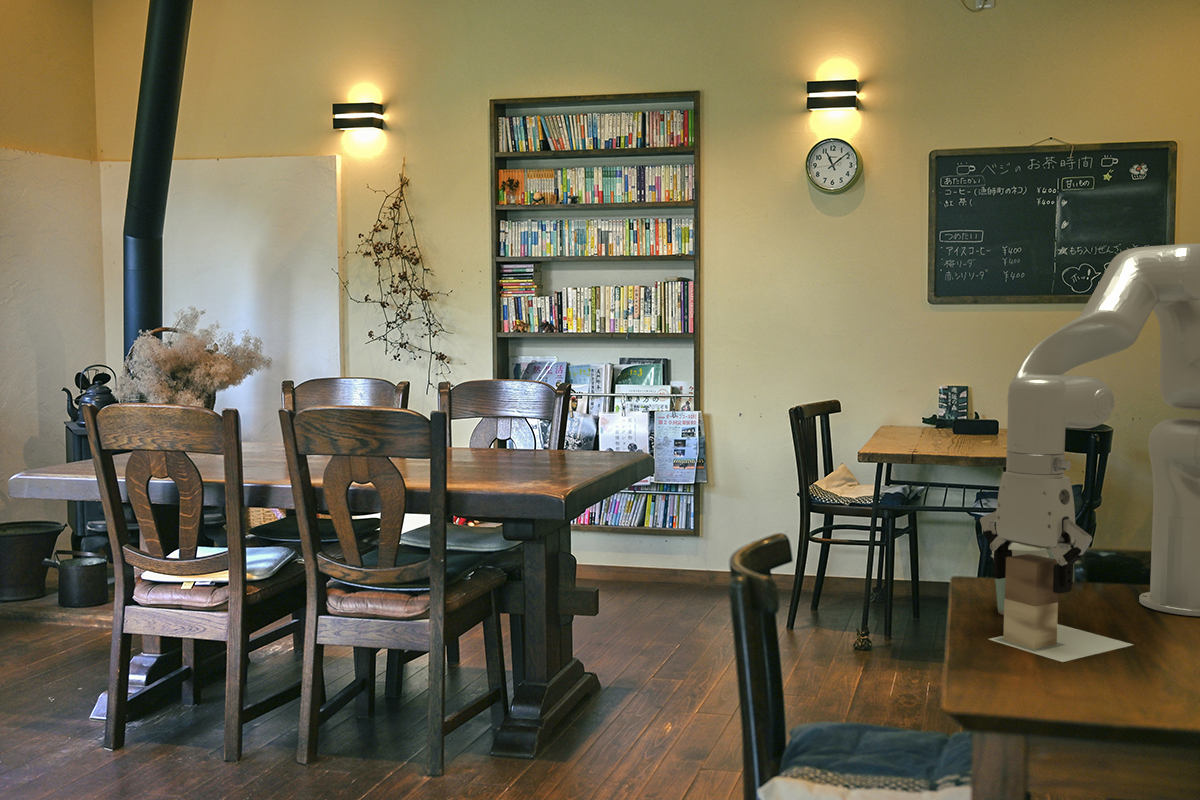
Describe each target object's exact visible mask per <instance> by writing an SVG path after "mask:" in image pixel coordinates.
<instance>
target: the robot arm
mask: <svg viewBox="0 0 1200 800" xmlns="http://www.w3.org/2000/svg"><path fill="white" fill-rule="evenodd" d="M1087 301H1088V302H1086V305H1085V307H1084V308H1083V310H1082V312H1081V313H1080V315H1079V316H1078V317H1076V318H1075V319H1073V320H1071V321H1070V322H1068V323H1066V324H1065V325H1063V326H1061V327H1060V328H1058V329H1057V330H1055V331H1054V332H1053V333H1051V334H1049V335H1048V336H1047V337H1045V338H1044V339H1042V340H1041V341H1040V342H1038V343H1037V344H1036V345H1035V346H1034V347H1032V349H1031V350H1030V351H1029V352H1028V353H1027V354H1026V356H1025V358H1024V359H1023V361H1022V363H1021V364H1020V365H1019V368H1018V369H1017V371H1016V373H1015V375H1014V377H1013V379H1012V381H1011V382H1010V383H1009V385H1008V394H1007V426H1006V429H1007V432H1006V433H1007V435H1006V466H1005V468H1006V469H1005V471H1003V472H1002V476H1001V479H1000V484H999V489H998V494H997V501H996V502H997V503H996V510H995V511H993V512H990V513H989V514H986V515H983V516H981V517H980V518H979V522H980V525H981V527H982V530H983V532H984V533H983V535H984V538H985V539H986V541H987V542H988V543H989V549H990V550H991V552H992V551H994V561H993V578H994V579H995V578H996V579H1002V578H1005V576H1006V557H1011V556H1012V550H1009V549H1008V548H1009V547H1010V546H1011V544H1012V543H1013V542H1015V543H1019V544H1024V545H1029V546H1034V547H1039V548H1045V549H1049V550H1050V552H1051V554H1052V556H1053V557H1054V559H1056V560H1057V562H1058V564H1054V569H1053V591H1054V593H1057V594H1065V593H1070V592H1071V591H1072V589H1073V588H1072V586H1073V582H1074V581H1073V580H1074V564H1077V563H1078V561H1079V560H1080V559H1081V558H1082V557H1083V556H1085V555H1086V553H1087V550H1088V548H1089V546H1090V544H1091V542H1092V541H1093V536H1092V535H1091V534H1089V533H1088V532H1087V531H1085V530H1084V529H1082V528H1081V527H1080V526H1079V525H1077V524H1076V512H1075V511H1076V510H1075V501H1074V492H1073V487H1072V482H1071V477H1070V476H1065V471H1069V470H1071V468H1072V463H1071V461H1070V460H1066V455H1065V454H1066V453H1065V451H1066V450H1065V448H1066V446H1065V445H1066V428H1071V429H1092V428H1095V427H1098V426H1100V425H1102V424H1104V423H1105V422H1106V421H1107V420H1108V419H1109V418H1110V417H1111V415H1112V413H1113V410H1114V406H1115V398H1114V393H1113V391H1112V389H1111V388H1110V386H1109V385H1108V384H1107V383H1106V382H1104V381H1103V380H1102V379H1100V378H1096V377H1093V376H1086V375H1085V376H1084V375H1067V374H1066V373H1067V372H1069V371H1071V370H1072V369H1074V368H1077V367H1079V366H1083V365H1085V364H1088V363H1090V362H1094V361H1097V360H1101V359H1103V358H1107V357H1109V356H1112V355H1114V354H1118V353H1120V352H1122V351H1124V350H1125V351H1126V350H1127V349H1128V348H1130V347H1132V346H1133V345H1134V344H1135V342H1136V341H1137V340H1138V338H1139V336H1140V334H1141V332H1142V330H1143V328H1144V327H1145V325H1146V323H1147V321H1148V319H1149V316H1150V315H1151V314H1152V311H1153V312H1154V314H1155V316H1156V319H1157V321H1158V324H1159V333H1160V335H1159V337H1160V339H1159V341H1160V342H1159V344H1160V351H1159V352H1160V353H1159V388H1160V396H1161V399H1162V400H1163V402H1164V403H1165V404H1166V405H1167V406H1169V407H1170V408H1171V407H1172V408H1174V409H1180V410H1191V411H1200V243H1176V244H1175V243H1174V244H1166V245H1164V244H1163V245H1150V246H1139V247H1133V248H1128V249H1125V250H1122V251H1121V252H1119V253H1118V254H1116V255H1115V256H1114V257H1113V258H1112V260H1111V261H1110V262H1109V264H1108V266H1107V267H1106V269H1105V271H1104V273H1103V275H1102V276H1101V278H1100V280H1099V282H1098V283H1097V286H1096V287H1095V289H1094V291H1093V293H1092V295H1091V296H1090V297H1089V299H1088V300H1087ZM1065 374H1066V375H1065ZM1147 442H1148V455H1149V459H1150V466H1151V472H1152V473H1151V474H1152V487H1153V488H1152V489H1153V494H1152V496H1153V497H1152V498H1153V499H1152V500H1153V501H1152V523H1151V525H1152V526H1151V527H1152V528H1151V529H1152V530H1151V552H1150V553H1151V554H1150V555H1151V557H1150V559H1151V560H1150V579H1149V580H1150V582H1149V583H1150V584H1149V586H1150V588H1149V591H1148V592H1147V591H1146V592H1143V593H1140V594H1139V597H1138V598H1139V601H1138V602H1139V604H1141V605H1142V606H1144V607H1146V608H1149V609H1152V610H1154V611H1158V612H1162V613H1167V614H1174V615H1181V616H1188V617H1190V616H1191V617H1200V418H1195V417H1174V418H1169V419H1165V420H1161V421H1160V422H1158V423H1157V424H1155V426H1154V427H1153V428H1152V429H1151V431H1150V433H1149V436H1148V441H1147ZM1071 546H1073V547H1071Z"/></svg>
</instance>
